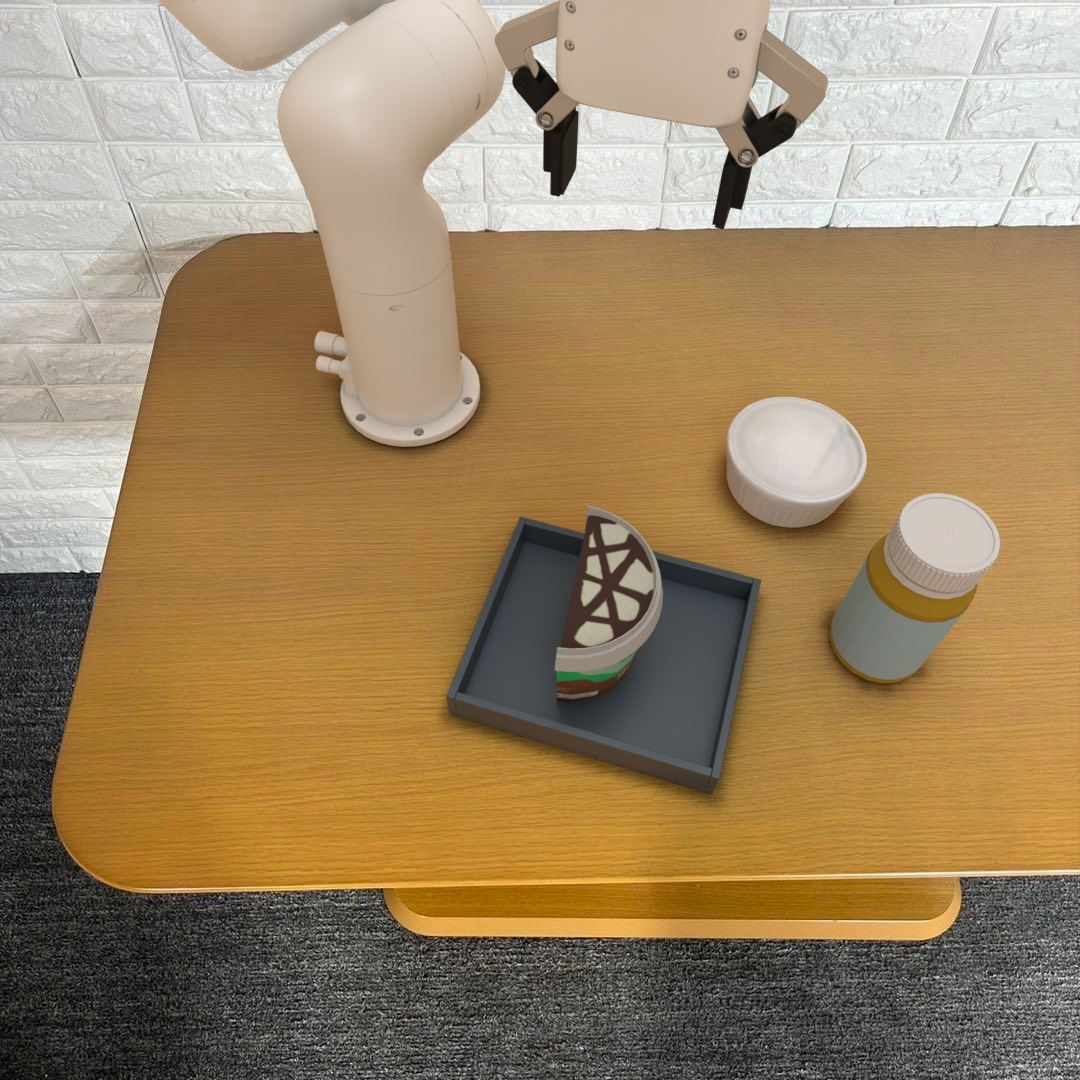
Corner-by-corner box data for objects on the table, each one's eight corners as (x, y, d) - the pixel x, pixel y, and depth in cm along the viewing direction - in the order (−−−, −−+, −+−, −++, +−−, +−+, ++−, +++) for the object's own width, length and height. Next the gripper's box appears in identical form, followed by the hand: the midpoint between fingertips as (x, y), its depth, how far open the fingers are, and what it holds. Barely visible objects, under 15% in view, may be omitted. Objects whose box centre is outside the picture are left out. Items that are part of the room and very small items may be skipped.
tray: (449, 714, 65) (446, 696, 62) (520, 538, 73) (519, 515, 71) (711, 794, 62) (719, 779, 59) (753, 600, 70) (761, 579, 68)
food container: (637, 736, 63) (654, 674, 55) (552, 719, 64) (555, 655, 56) (659, 589, 70) (677, 514, 62) (582, 575, 71) (588, 499, 62)
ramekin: (860, 541, 73) (880, 503, 69) (723, 539, 73) (735, 501, 69) (836, 437, 80) (854, 396, 75) (710, 435, 80) (720, 394, 75)
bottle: (902, 703, 65) (989, 598, 53) (812, 657, 67) (875, 546, 55) (933, 632, 69) (1021, 517, 56) (846, 590, 71) (913, 471, 58)
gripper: (894, -158, 39) (798, 189, 53) (518, -204, 42) (522, 137, 56) (876, -87, 35) (778, 268, 49) (462, -143, 38) (481, 207, 52)
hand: (641, 198), depth 53 cm, fingers open, 9 cm apart
